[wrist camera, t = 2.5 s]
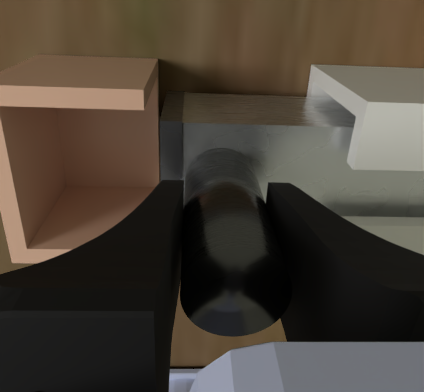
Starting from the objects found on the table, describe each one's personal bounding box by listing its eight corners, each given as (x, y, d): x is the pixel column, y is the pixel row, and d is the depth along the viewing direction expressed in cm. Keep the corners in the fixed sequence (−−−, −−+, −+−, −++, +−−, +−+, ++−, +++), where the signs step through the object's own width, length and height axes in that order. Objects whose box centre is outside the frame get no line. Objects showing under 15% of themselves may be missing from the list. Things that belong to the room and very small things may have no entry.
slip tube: (426, 188, 19) (624, 360, 10) (167, 183, 18) (145, 362, 10) (453, 100, 17) (726, 219, 8) (167, 90, 16) (137, 209, 8)
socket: (160, 193, 20) (149, 264, 15) (58, 191, 19) (12, 263, 14) (158, 58, 17) (143, 89, 12) (38, 54, 16) (-29, 84, 11)
